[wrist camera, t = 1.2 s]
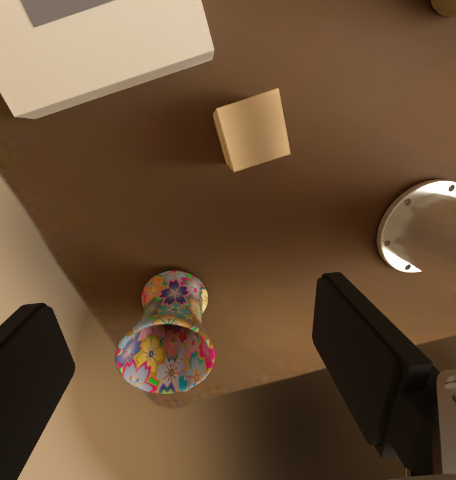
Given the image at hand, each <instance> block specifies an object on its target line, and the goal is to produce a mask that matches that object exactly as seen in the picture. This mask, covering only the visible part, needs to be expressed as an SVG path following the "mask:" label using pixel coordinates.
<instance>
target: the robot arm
mask: <svg viewBox="0 0 456 480" xmlns="http://www.w3.org/2000/svg"><path fill="white" fill-rule="evenodd" d="M377 247H378V251H379V253H380V255H381V257H382V259H383V260H384V261H385V262H386V263H387V264H389V265H390V266H392V267H393V268H395V269H397V270H399V271H403V272H420V271H423V272H424V273H426V274H428V275H429V276H431V277H433V278H434V279H436V280H437V281H439V282H441V283H442V284H444V285H446V286H447V287H449V288H451V289H452V290H454V291H456V182H453V181H448V180H440V179H436V180H428V181H425V182H422V183H419V184H417V185H415V186H413V187H411V188H409V189H408V190H407V191H405V192H404V193H402V194H401V195H400V196H399V197H398V198H397V199H396V200H395V201H394V202H393V203H392V204H391V205H390V207H389V208H388V209H387V211H386V212H385V214H384V216H383V218H382V220H381V222H380V225H379V227H378V233H377ZM312 339H313V343H314V345H315V347H316V349H317V351H318V353H319V355H320V356H321V358H322V360H323V362H324V364H325V366H326V368H327V369H328V371H329V373H330V375H331V377H332V379H333V380H334V382H335V384H336V386H337V388H338V390H339V392H340V393H341V395H342V397H343V399H344V401H345V403H346V405H347V406H348V408H349V410H350V412H351V414H352V416H353V417H354V419H355V421H356V423H357V425H358V427H359V429H360V430H361V432H362V434H363V436H364V438H365V439H366V441H367V442H368V443H369V444H370V445H374V446H375V448H376V450H377V451H378V453H379V455H380V457H381V458H388V457H394V456H398V457H399V459H400V460H401V462H402V463H403V465H404V467H405V468H406V477H405V478H398V479H391V480H456V370H452V369H450V370H445V371H442V372H441V373H440V372H439V371H438V370H437V369H436V368H435V367H434V366H433V363H432V362H431V361H430V360H429V359H428V358H427V357H426V356H425V355H424V354H423V353H422V352H421V351H420V350H419V349H418V348H417V347H416V346H415V345H414V344H413V343H412V342H411V341H410V340H409V339H408V338H407V337H406V336H405V335H404V334H403V333H402V332H401V331H400V330H399V329H398V328H397V327H396V326H395V325H394V324H393V323H392V322H391V321H390V320H389V319H388V318H387V317H386V316H385V315H383V314H382V313H381V312H380V311H379V310H378V309H377V308H376V307H375V306H374V305H373V304H372V303H371V302H370V301H369V300H368V299H367V298H366V297H365V296H364V295H363V294H362V293H361V292H360V291H359V290H358V289H357V288H356V287H355V286H354V285H353V284H352V283H351V282H350V281H349V280H348V279H347V278H346V277H345V276H344V275H343V274H342V273H340V272H334V273H324V274H323V275H322V277H321V278H318V280H317V288H316V299H315V309H314V320H313V331H312ZM74 371H75V363H74V361H73V358H72V356H71V353H70V351H69V348H68V346H67V343H66V341H65V339H64V336H63V334H62V331H61V329H60V326H59V324H58V321H57V319H56V316H55V314H54V312H53V309H52V308H51V307H48V306H47V305H46V304H45V303H36V304H26V305H23V306H21V307H20V308H19V309H18V310H16V311H15V312H14V313H13V314H12V315H11V316H10V317H9V318H8V319H7V320H6V321H5V322H4V323H3V324H1V325H0V480H17V479H18V477H19V475H20V473H21V471H22V470H23V468H24V466H25V464H26V462H27V460H28V458H29V456H30V455H31V453H32V451H33V449H34V447H35V445H36V443H37V442H38V440H39V438H40V436H41V434H42V432H43V430H44V429H45V427H46V425H47V423H48V421H49V419H50V418H51V416H52V414H53V412H54V410H55V408H56V406H57V404H58V403H59V401H60V399H61V397H62V395H63V393H64V391H65V390H66V388H67V386H68V384H69V382H70V380H71V378H72V377H73V374H74Z"/></svg>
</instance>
